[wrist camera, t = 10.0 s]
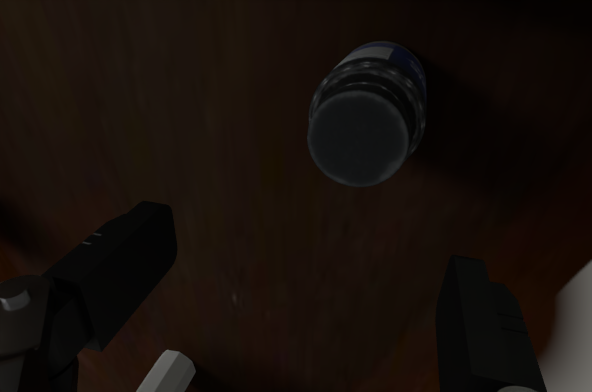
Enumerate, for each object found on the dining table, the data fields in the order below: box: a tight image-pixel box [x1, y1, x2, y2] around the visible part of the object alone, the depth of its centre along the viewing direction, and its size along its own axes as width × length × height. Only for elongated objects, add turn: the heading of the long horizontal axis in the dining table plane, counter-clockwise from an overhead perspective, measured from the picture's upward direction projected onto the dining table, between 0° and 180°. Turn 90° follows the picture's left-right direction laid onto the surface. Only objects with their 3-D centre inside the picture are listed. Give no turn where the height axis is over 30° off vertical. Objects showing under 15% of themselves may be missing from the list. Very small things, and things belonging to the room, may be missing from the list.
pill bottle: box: [307, 41, 427, 187], centre depth 22 cm, size 6×6×11 cm
